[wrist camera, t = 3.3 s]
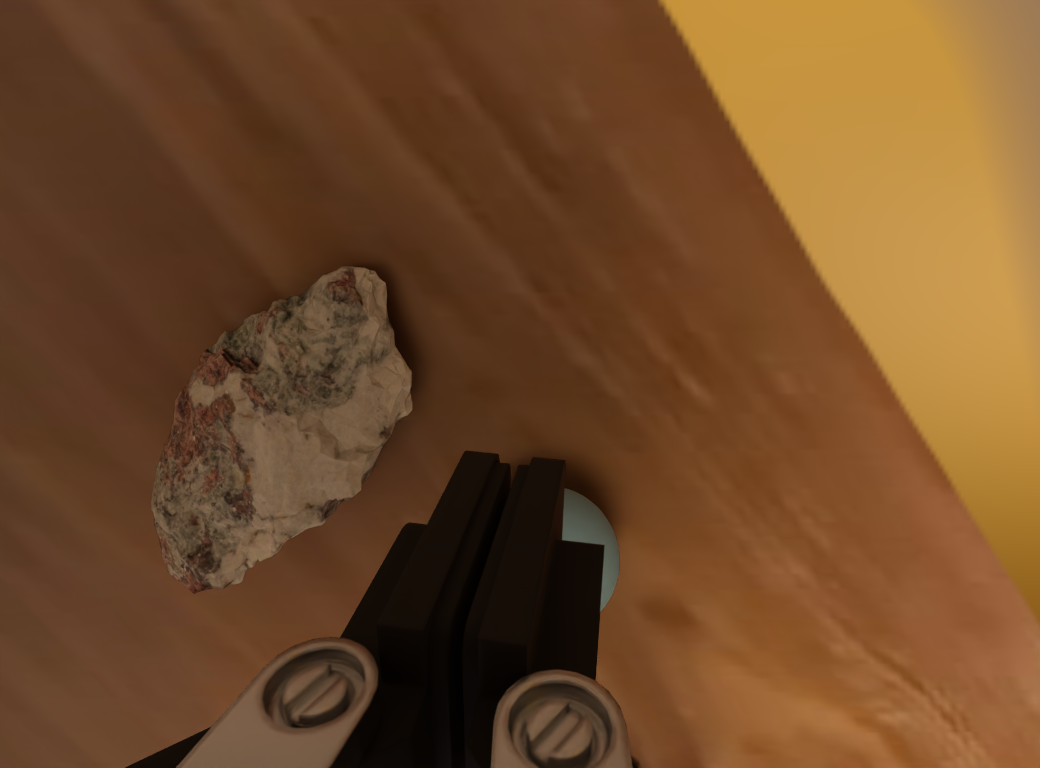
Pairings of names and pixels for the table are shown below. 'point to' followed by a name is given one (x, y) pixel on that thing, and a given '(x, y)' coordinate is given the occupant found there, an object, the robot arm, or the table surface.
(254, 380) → the mineral rock
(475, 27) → the table surface
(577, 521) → the ball
